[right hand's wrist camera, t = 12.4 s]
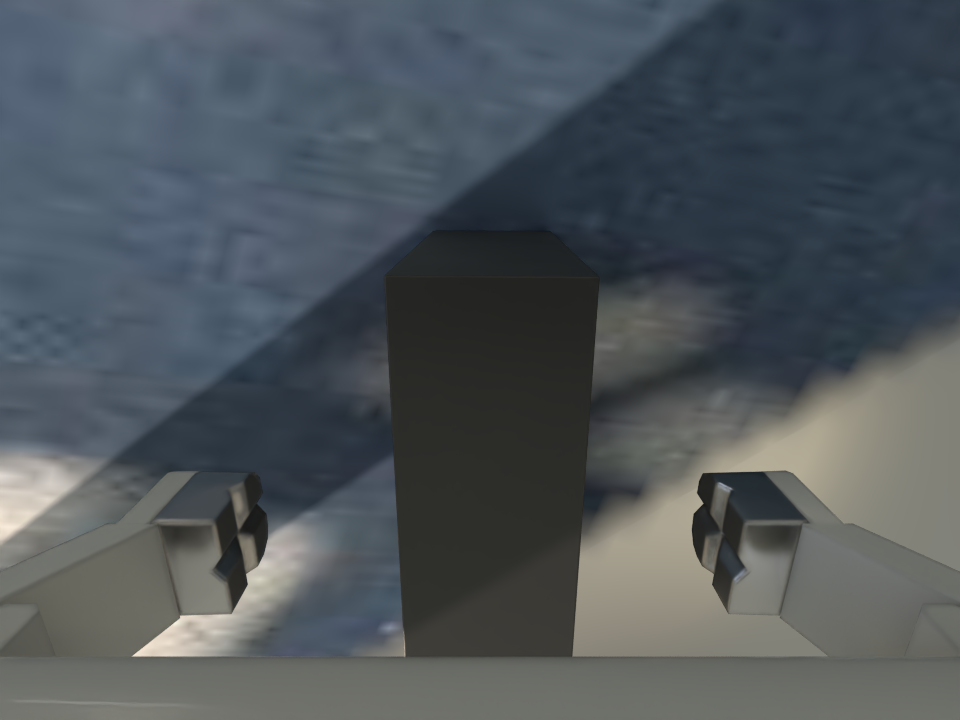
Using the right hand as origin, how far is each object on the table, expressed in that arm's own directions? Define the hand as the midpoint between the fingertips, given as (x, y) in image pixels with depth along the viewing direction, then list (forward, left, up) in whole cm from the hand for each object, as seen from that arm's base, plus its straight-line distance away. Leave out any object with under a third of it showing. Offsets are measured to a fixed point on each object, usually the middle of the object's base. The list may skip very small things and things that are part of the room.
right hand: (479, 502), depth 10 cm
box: (+4, +6, -19) cm, 20 cm away
